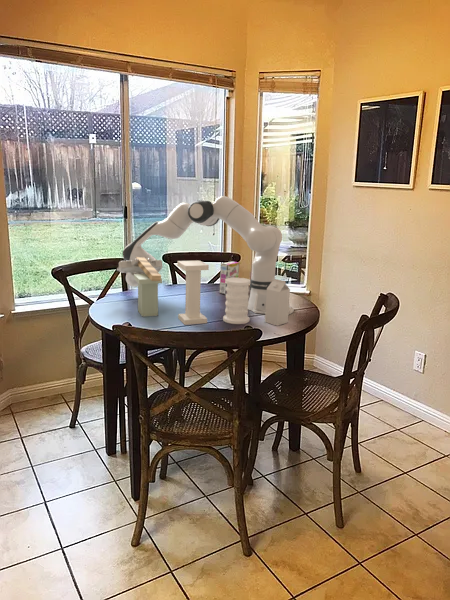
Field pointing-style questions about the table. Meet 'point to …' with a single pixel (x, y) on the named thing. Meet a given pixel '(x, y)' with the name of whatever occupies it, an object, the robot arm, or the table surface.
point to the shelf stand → (192, 292)
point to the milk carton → (277, 302)
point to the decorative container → (237, 300)
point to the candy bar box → (227, 274)
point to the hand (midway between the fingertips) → (143, 260)
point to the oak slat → (148, 269)
